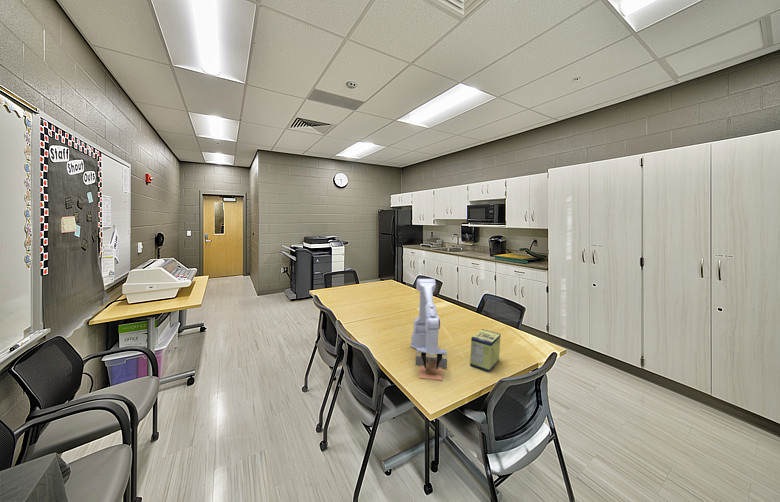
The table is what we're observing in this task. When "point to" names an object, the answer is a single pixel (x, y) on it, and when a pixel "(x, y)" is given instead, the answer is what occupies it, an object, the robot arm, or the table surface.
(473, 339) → the protein box
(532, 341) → the table surface
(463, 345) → the table surface
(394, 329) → the table surface
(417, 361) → the slate screen
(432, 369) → the walnut cube
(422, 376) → the terracotta tile
